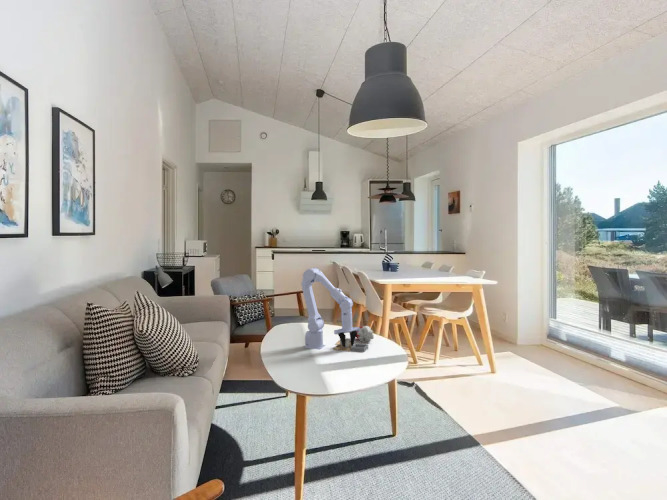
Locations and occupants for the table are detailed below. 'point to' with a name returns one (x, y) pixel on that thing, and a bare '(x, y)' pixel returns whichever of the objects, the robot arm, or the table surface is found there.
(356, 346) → the slate dish
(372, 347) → the table surface
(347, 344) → the pale grey capsule
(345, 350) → the oak box
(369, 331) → the white and red lump
